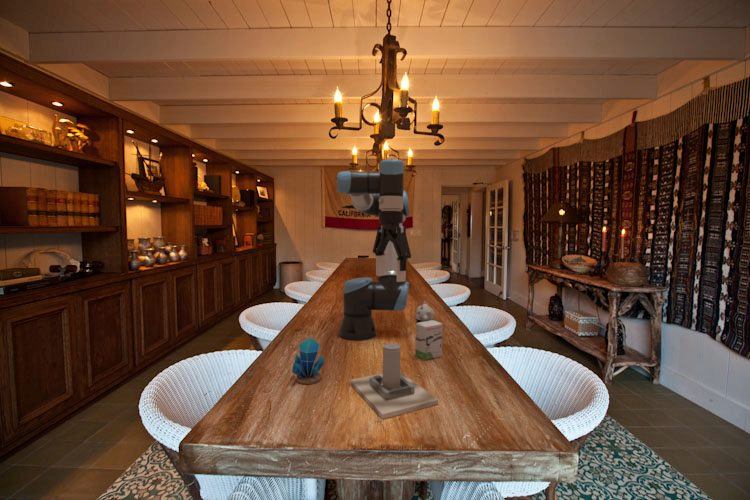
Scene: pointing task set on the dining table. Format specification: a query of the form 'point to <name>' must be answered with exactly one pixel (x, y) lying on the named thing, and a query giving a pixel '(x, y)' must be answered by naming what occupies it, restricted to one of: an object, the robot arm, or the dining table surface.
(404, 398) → the holder board
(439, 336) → the ink box
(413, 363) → the dining table surface
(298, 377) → the gemstone
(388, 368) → the beverage can
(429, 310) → the pale grey lumpy bulb
